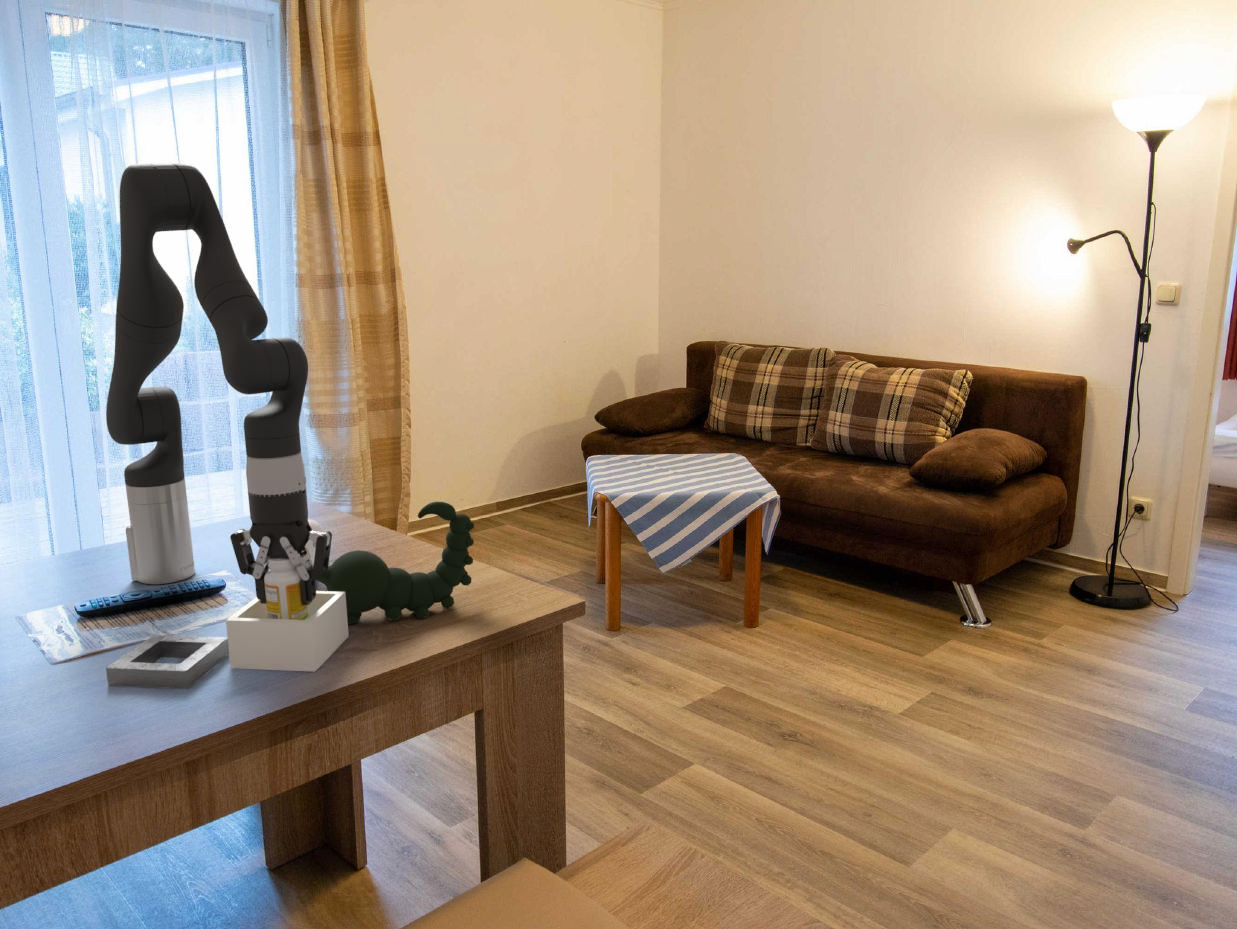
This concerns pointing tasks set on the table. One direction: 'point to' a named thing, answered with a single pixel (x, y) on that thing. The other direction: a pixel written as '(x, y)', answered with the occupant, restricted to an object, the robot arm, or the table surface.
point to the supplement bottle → (284, 591)
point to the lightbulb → (315, 527)
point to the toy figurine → (403, 574)
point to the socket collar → (146, 673)
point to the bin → (287, 635)
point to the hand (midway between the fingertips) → (287, 602)
